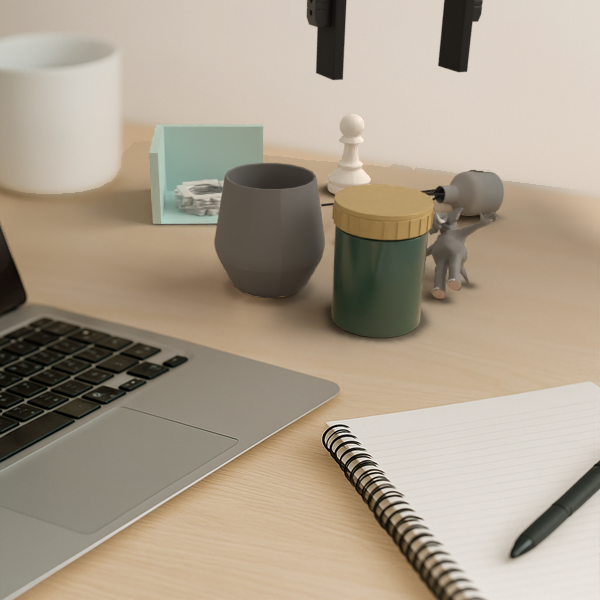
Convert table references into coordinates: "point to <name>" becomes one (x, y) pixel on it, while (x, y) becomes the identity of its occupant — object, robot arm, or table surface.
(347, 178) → the chess pawn
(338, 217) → the jar lid
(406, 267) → the jar
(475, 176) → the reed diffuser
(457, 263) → the elephant figurine
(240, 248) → the cup
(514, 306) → the table surface
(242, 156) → the l-shaped corner panel
